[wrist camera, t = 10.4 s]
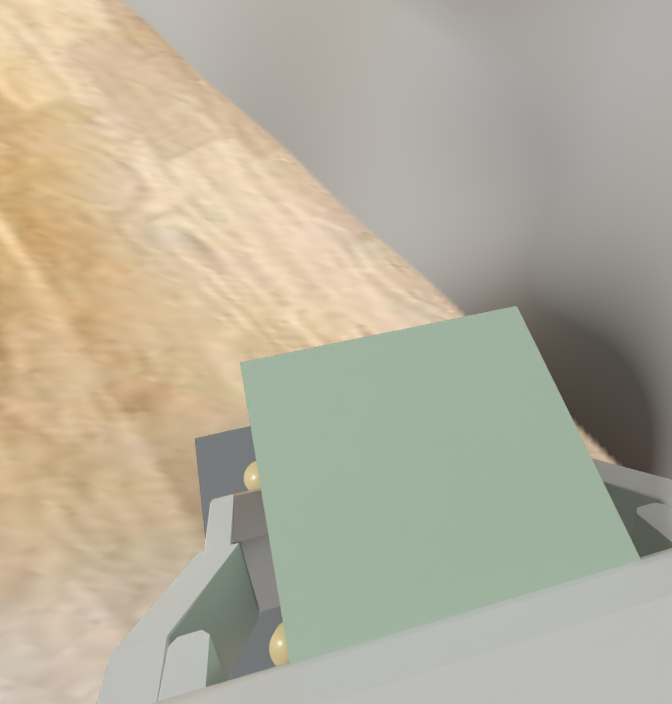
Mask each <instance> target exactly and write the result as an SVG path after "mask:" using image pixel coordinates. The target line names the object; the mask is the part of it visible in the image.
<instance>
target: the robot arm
mask: <svg viewBox="0 0 672 704" xmlns="http://www.w3.org/2000/svg"><path fill="white" fill-rule="evenodd" d="M592 460H593V463H594V465H595V467H596V469H597V471H598V473H599V475H600V477H601V479H602V481H603V483H604V485H605V487H606V489H607V491H608V493H609V495H610V497H611V499H612V501H613V503H614V505H615V507H616V509H617V512H618V514H619V516H620V518H621V520H622V522H623V524H624V526H625V528H626V530H627V532H628V534H629V536H630V538H631V540H632V542H633V544H634V546H635V548H636V550H637V552H638V554H639V556H640V558H641V560H638V561H635V562H631V563H628V564H625V565H621V566H618V567H615V568H611V569H608V570H605V571H601V572H598V573H595V574H591V575H588V576H584V577H581V578H578V579H574V580H571V581H568V582H564V583H561V584H558V585H554V586H551V587H548V588H544V589H541V590H537V591H534V592H531V593H527V594H524V595H521V596H517V597H514V598H511V599H507V600H504V601H501V602H497V603H494V604H491V605H487V606H484V607H480V608H477V609H474V610H470V611H467V612H464V613H460V614H457V615H454V616H450V617H447V618H444V619H440V620H437V621H434V622H430V623H427V624H423V625H420V626H417V627H413V628H410V629H407V630H403V631H400V632H397V633H393V634H390V635H387V636H383V637H380V638H377V639H373V640H370V641H367V642H363V643H360V644H357V645H353V646H350V647H347V648H343V649H340V650H337V651H333V652H330V653H327V654H323V655H320V656H317V657H313V658H310V659H307V660H303V661H300V662H297V663H293V664H290V662H288V663H285V664H281V665H278V666H275V667H271V668H268V669H265V670H261V671H258V672H254V673H251V674H248V675H244V676H241V677H238V678H234V679H231V680H229V677H230V675H231V673H232V671H233V669H234V667H235V665H236V663H237V661H238V659H239V657H240V655H241V653H242V651H243V648H244V646H245V644H246V642H247V640H248V638H249V636H250V634H251V632H252V630H253V628H254V626H255V624H256V622H257V619H258V617H259V615H260V614H259V612H262V611H265V610H269V609H272V608H275V607H278V606H280V602H279V595H278V589H277V583H276V577H275V571H274V565H273V559H272V553H271V547H270V541H269V535H268V529H267V523H266V517H265V511H264V505H263V499H262V492H261V488H258V489H254V490H249V491H245V492H240V493H236V494H231V495H227V496H223V497H219V498H215V499H212V501H211V503H210V508H209V516H208V524H207V532H206V540H205V548H204V552H201V553H197V554H196V556H195V557H194V558H193V559H192V560H191V561H190V563H189V564H188V565H187V566H186V567H185V568H184V570H183V571H182V572H181V573H180V574H179V575H178V576H177V578H176V579H175V580H174V581H173V582H172V583H171V585H170V586H169V587H168V588H167V589H166V590H165V592H164V593H163V594H162V595H161V596H160V597H159V599H158V600H157V601H156V602H155V603H154V604H153V606H152V607H151V608H150V609H149V610H148V611H147V613H146V614H145V615H144V616H143V617H142V618H141V619H140V621H139V622H138V623H137V624H136V625H135V626H134V628H133V629H132V630H131V631H130V632H129V633H128V635H127V636H126V637H125V638H124V639H123V640H122V642H121V643H120V644H119V645H118V646H117V647H116V649H115V650H114V651H113V652H112V654H111V657H110V660H109V663H108V667H107V670H106V673H105V676H104V680H103V683H102V686H101V690H100V693H99V696H98V699H97V703H96V704H672V480H670V479H666V478H663V477H659V476H655V475H652V474H648V473H644V472H640V471H636V470H632V469H629V468H625V467H622V466H618V465H614V464H611V463H607V462H603V461H599V460H596V459H592Z"/></svg>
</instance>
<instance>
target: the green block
mask: <svg viewBox="0 0 672 704" xmlns="http://www.w3.org/2000/svg"><path fill="white" fill-rule="evenodd" d="M240 365H241V371H242V377H243V383H244V390H245V396H246V402H247V408H248V414H249V420H250V426H251V432H252V438H253V444H254V450H255V456H256V462H257V468H258V474H259V480H260V486H261V492H262V499H263V505H264V511H265V517H266V523H267V529H268V535H269V541H270V547H271V553H272V559H273V565H274V571H275V577H276V583H277V589H278V595H279V602H280V608H281V614H282V620H283V626H284V632H285V638H286V644H287V650H288V656H289V662H290V664H293V663H297V662H300V661H303V660H307V659H310V658H313V657H317V656H320V655H323V654H327V653H330V652H333V651H337V650H340V649H343V648H347V647H350V646H353V645H357V644H360V643H363V642H367V641H370V640H373V639H377V638H380V637H383V636H387V635H390V634H393V633H397V632H400V631H403V630H407V629H410V628H413V627H417V626H420V625H423V624H427V623H430V622H434V621H437V620H440V619H444V618H447V617H450V616H454V615H457V614H460V613H464V612H467V611H470V610H474V609H477V608H480V607H484V606H487V605H491V604H494V603H497V602H501V601H504V600H507V599H511V598H514V597H517V596H521V595H524V594H527V593H531V592H534V591H537V590H541V589H544V588H548V587H551V586H554V585H558V584H561V583H564V582H568V581H571V580H574V579H578V578H581V577H584V576H588V575H591V574H595V573H598V572H601V571H605V570H608V569H611V568H615V567H618V566H621V565H625V564H628V563H631V562H635V561H638V560H641V558H640V556H639V554H638V552H637V550H636V548H635V546H634V544H633V542H632V540H631V538H630V536H629V534H628V532H627V530H626V528H625V526H624V524H623V522H622V520H621V518H620V516H619V514H618V512H617V509H616V507H615V505H614V503H613V501H612V499H611V497H610V495H609V493H608V491H607V489H606V487H605V485H604V483H603V481H602V479H601V477H600V475H599V473H598V471H597V469H596V467H595V465H594V463H593V460H592V458H591V456H590V454H589V452H588V450H587V448H586V446H585V444H584V442H583V440H582V438H581V436H580V434H579V432H578V430H577V428H576V426H575V424H574V422H573V420H572V418H571V416H570V414H569V412H568V409H567V407H566V405H565V403H564V401H563V399H562V397H561V395H560V393H559V391H558V389H557V387H556V385H555V383H554V381H553V379H552V377H551V375H550V373H549V371H548V369H547V367H546V365H545V363H544V361H543V358H542V356H541V354H540V352H539V350H538V348H537V346H536V344H535V342H534V340H533V338H532V336H531V334H530V332H529V330H528V328H527V326H526V324H525V322H524V320H523V318H522V316H521V314H520V312H519V309H518V307H517V306H515V307H510V308H505V309H500V310H495V311H490V312H486V313H480V314H476V315H470V316H466V317H461V318H456V319H451V320H446V321H441V322H436V323H431V324H427V325H422V326H417V327H412V328H407V329H402V330H397V331H392V332H387V333H383V334H378V335H373V336H368V337H363V338H358V339H353V340H348V341H344V342H339V343H334V344H329V345H324V346H319V347H314V348H309V349H304V350H300V351H295V352H290V353H285V354H280V355H275V356H270V357H265V358H261V359H256V360H251V361H246V362H241V363H240Z"/></svg>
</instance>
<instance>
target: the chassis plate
mask: <svg viewBox="0 0 672 704" xmlns="http://www.w3.org/2000/svg"><path fill="white" fill-rule="evenodd" d="M195 446H196V455H197V465H198V474H199V483H200V493H201V502H202V512H203V521H204V530H205V540H206V532H207V524H208V516H209V508H210V503H211V501H212V499H215V498H219V497H223V496H227V495H231V494H236V493H240V492H245V491H249V490H254V489H258V488H261V486H260V480H259V474H258V468H257V462H256V456H255V450H254V444H253V438H252V432H251V426H249V427H245V428H240V429H236V430H231V431H227V432H222V433H218V434H213V435H209V436H204V437H199V438H195ZM259 614H260V615H259V617H258V619H257V622H256V624H255V626H254V628H253V630H252V632H251V634H250V636H249V638H248V640H247V642H246V644H245V646H244V648H243V651H242V653H241V655H240V657H239V659H238V661H237V663H236V665H235V667H234V669H233V671H232V673H231V675H230V677H229V680H231V679H234V678H238V677H241V676H244V675H248V674H251V673H254V672H258V671H261V670H265V669H268V668H271V667H275V666H278V665H281V664H285V663H288V662H289V656H288V650H287V644H286V638H285V632H284V626H283V620H282V614H281V608H280V606H278V607H275V608H272V609H269V610H265V611H262V612H259Z"/></svg>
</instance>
